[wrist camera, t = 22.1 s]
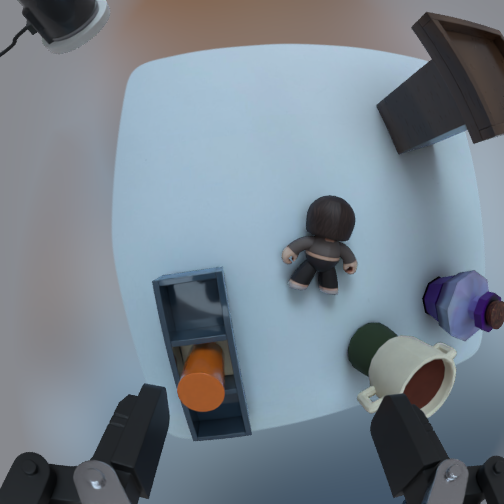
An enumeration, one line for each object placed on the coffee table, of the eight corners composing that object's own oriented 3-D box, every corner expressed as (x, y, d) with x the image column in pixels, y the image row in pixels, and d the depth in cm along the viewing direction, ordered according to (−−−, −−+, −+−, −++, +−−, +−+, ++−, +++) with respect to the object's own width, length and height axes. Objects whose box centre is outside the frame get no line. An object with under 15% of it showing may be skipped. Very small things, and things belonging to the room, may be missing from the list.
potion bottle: (464, 293, 34) (524, 308, 22) (431, 339, 33) (489, 368, 21) (440, 251, 33) (506, 257, 21) (403, 300, 33) (467, 323, 21)
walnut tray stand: (383, 176, 32) (495, 135, 14) (347, 96, 31) (426, 11, 13) (452, 153, 32) (546, 122, 14) (421, 85, 32) (499, 30, 14)
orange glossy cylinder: (186, 369, 30) (175, 407, 22) (190, 337, 30) (179, 368, 22) (222, 375, 30) (221, 415, 22) (227, 343, 30) (228, 376, 22)
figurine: (341, 286, 33) (362, 203, 31) (356, 303, 28) (382, 208, 26) (272, 275, 32) (291, 186, 30) (278, 292, 28) (301, 187, 25)
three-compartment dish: (196, 420, 31) (193, 441, 27) (161, 275, 30) (151, 281, 26) (249, 414, 32) (252, 435, 27) (222, 266, 30) (222, 270, 26)
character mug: (337, 387, 32) (383, 447, 19) (320, 341, 32) (369, 395, 19) (407, 346, 33) (471, 384, 20) (396, 300, 32) (467, 327, 19)
